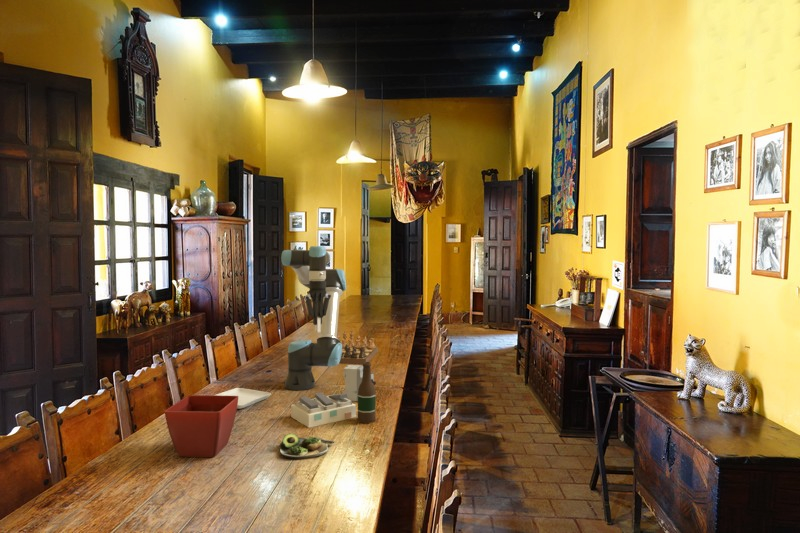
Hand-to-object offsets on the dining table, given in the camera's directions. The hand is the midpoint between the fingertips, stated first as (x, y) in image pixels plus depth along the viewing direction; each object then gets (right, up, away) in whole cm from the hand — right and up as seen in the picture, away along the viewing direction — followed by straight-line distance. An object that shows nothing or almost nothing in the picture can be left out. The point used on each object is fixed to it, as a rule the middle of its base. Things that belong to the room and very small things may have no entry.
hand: (317, 331), depth 239 cm
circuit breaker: (+19, -33, +6) cm, 38 cm away
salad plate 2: (+3, -36, -54) cm, 65 cm away
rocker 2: (+6, -27, -20) cm, 34 cm away
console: (+6, -33, -19) cm, 39 cm away
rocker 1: (0, -27, -24) cm, 36 cm away
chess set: (0, -29, +98) cm, 102 cm away
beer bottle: (+24, -34, -23) cm, 48 cm away
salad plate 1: (-36, -33, +1) cm, 49 cm away
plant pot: (-31, -35, -55) cm, 72 cm away
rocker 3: (+11, -27, -15) cm, 33 cm away
